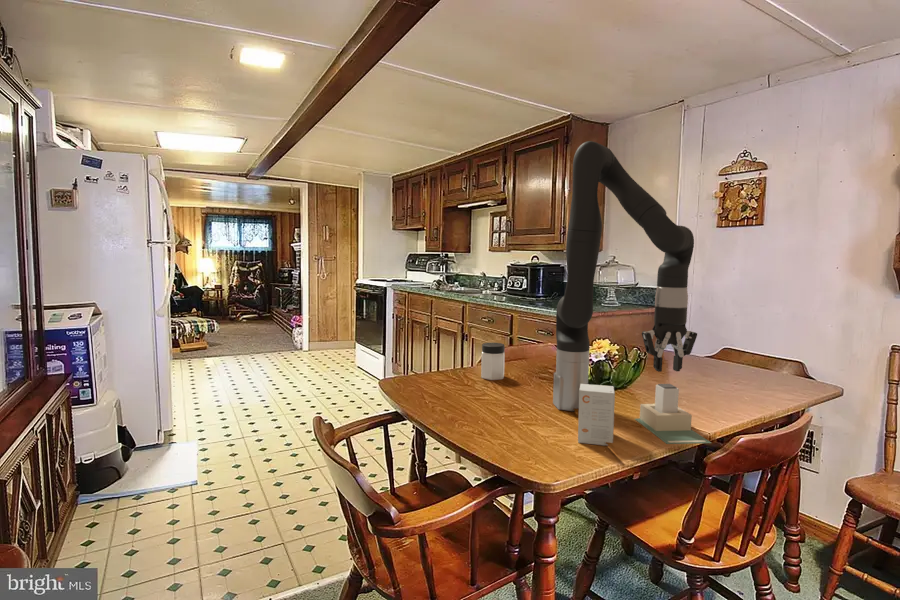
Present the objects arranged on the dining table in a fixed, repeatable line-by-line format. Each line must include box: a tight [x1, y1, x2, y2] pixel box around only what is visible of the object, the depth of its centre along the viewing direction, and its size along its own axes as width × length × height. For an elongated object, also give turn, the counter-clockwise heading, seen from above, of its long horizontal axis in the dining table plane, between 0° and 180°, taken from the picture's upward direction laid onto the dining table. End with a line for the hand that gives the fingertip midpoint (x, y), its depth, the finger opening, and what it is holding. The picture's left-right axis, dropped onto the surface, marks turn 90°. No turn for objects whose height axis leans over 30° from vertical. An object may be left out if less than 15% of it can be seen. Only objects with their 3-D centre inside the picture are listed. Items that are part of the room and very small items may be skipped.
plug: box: [654, 383, 680, 413], centre depth 125 cm, size 4×5×10 cm
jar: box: [480, 342, 506, 381], centre depth 174 cm, size 9×8×12 cm
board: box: [634, 417, 712, 445], centre depth 121 cm, size 11×17×1 cm, turn 4°
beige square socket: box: [639, 402, 693, 431], centre depth 125 cm, size 9×10×4 cm
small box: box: [577, 383, 616, 447], centre depth 116 cm, size 8×6×13 cm
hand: (667, 370), depth 124 cm, fingers open, 4 cm apart
